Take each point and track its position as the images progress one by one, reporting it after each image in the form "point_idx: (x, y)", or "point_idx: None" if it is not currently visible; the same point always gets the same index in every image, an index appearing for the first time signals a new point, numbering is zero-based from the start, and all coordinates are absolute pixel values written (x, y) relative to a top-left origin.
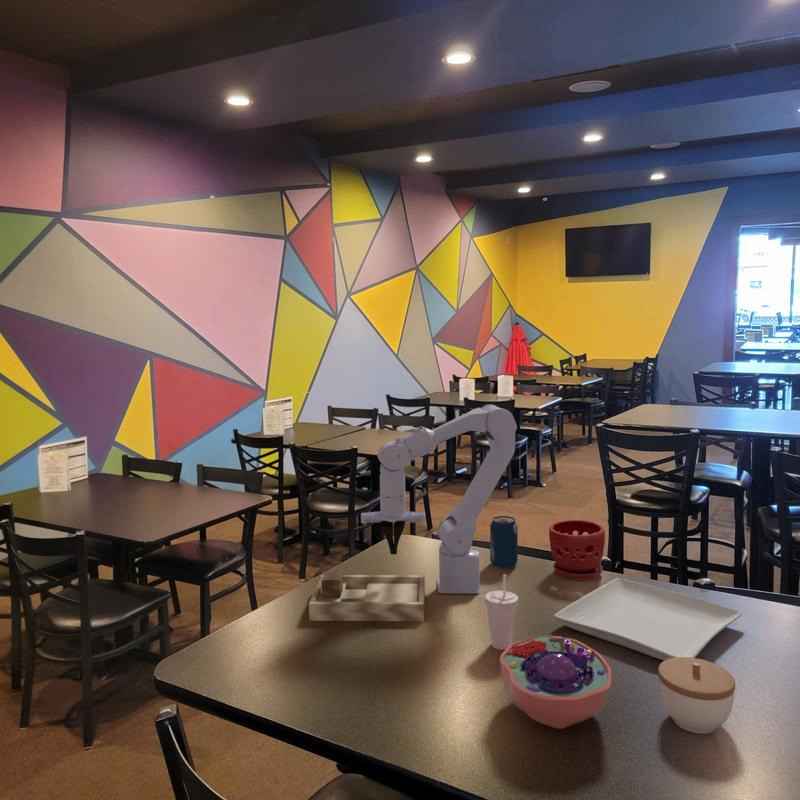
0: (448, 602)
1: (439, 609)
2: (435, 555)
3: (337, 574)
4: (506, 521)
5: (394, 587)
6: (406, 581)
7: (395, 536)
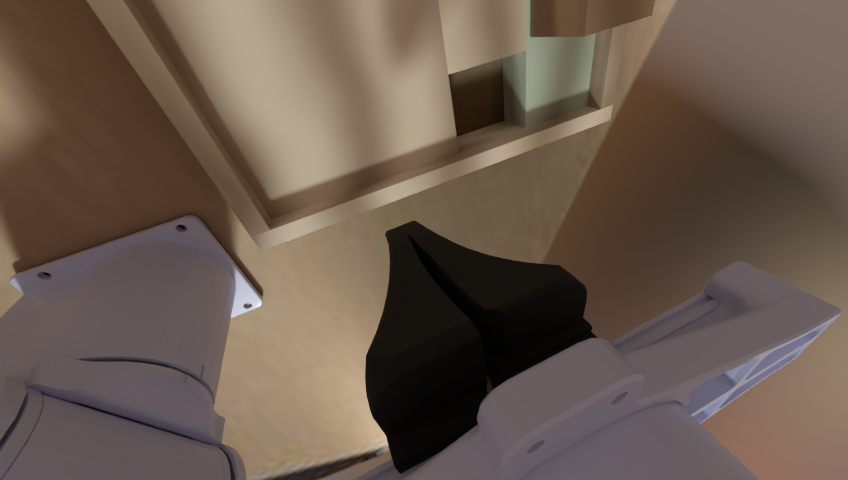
0: (88, 153)
1: (66, 57)
2: (352, 402)
3: (603, 13)
4: None
5: (347, 131)
6: (325, 201)
7: (422, 287)
